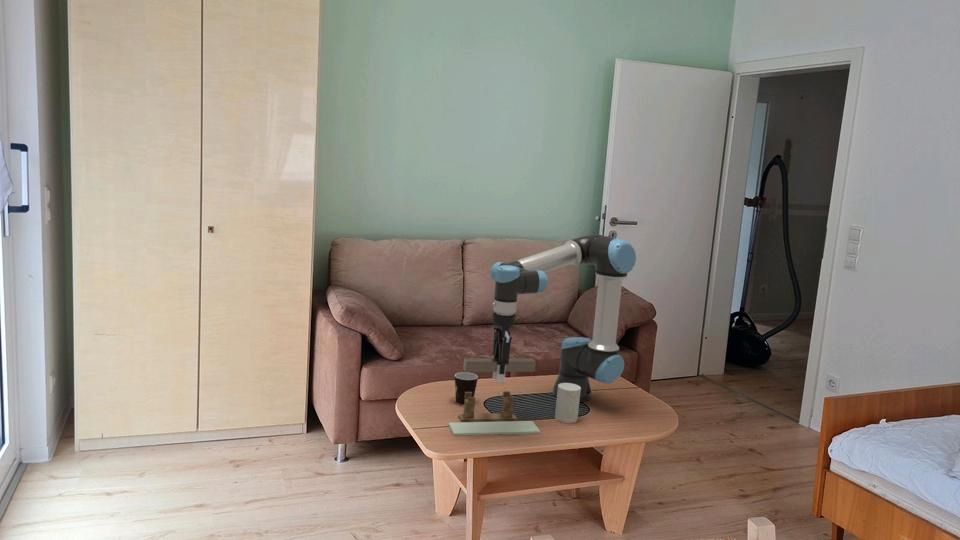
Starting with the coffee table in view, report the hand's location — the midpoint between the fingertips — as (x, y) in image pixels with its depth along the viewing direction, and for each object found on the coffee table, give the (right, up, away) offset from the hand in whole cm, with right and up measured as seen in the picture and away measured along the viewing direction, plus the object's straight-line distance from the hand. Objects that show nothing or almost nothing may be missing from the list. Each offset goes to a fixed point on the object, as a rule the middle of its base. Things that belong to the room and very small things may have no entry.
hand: (498, 380), depth 244 cm
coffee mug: (-12, -12, +28) cm, 32 cm away
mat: (-1, -17, +3) cm, 17 cm away
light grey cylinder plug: (+25, -17, +18) cm, 35 cm away
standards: (-3, -15, +12) cm, 20 cm away
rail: (0, +4, -1) cm, 4 cm away
